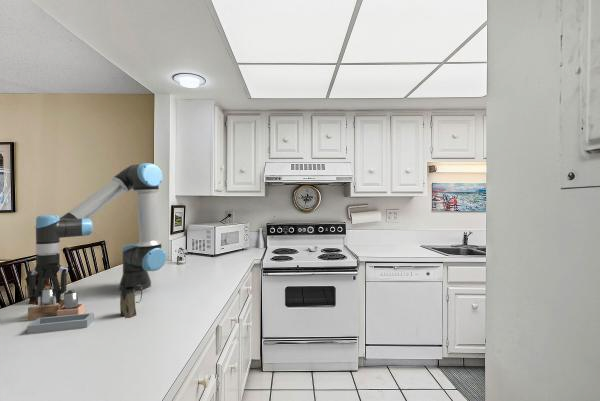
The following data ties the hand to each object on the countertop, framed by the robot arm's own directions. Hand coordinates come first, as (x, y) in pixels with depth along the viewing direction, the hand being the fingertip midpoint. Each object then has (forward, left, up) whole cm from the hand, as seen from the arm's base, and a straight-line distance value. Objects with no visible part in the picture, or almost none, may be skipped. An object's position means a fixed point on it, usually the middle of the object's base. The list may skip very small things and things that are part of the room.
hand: (48, 311), depth 130 cm
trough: (-10, +15, -2) cm, 18 cm away
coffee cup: (+13, -24, -2) cm, 27 cm away
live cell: (0, 0, -1) cm, 1 cm away
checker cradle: (0, 0, -2) cm, 2 cm away
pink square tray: (-10, +7, -2) cm, 12 cm away
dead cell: (-10, +7, -1) cm, 12 cm away
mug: (-32, +9, -2) cm, 33 cm away
